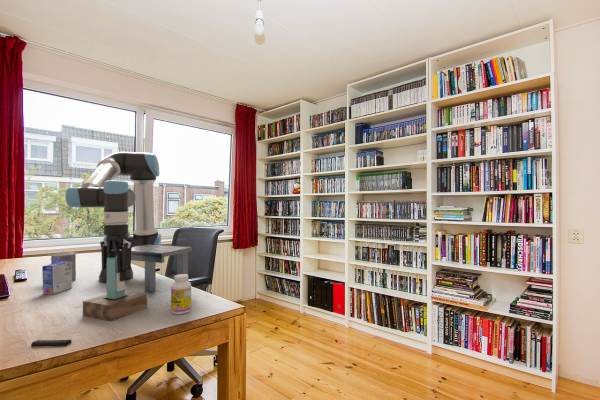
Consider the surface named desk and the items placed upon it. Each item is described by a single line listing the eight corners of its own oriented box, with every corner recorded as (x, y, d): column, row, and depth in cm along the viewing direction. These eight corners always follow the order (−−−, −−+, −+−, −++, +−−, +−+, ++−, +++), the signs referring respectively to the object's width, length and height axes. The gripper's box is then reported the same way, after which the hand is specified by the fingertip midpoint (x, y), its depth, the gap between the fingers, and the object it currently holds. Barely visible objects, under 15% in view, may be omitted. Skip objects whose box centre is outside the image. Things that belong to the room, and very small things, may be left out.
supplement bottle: (166, 313, 107) (166, 276, 107) (182, 307, 113) (182, 272, 113) (180, 316, 104) (180, 278, 104) (195, 310, 110) (195, 274, 110)
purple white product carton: (56, 279, 155) (56, 250, 155) (79, 278, 158) (78, 249, 158) (47, 284, 146) (47, 253, 146) (71, 282, 149) (71, 252, 149)
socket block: (82, 315, 105) (82, 301, 105) (120, 303, 118) (120, 290, 118) (111, 321, 100) (111, 305, 100) (147, 307, 113) (147, 293, 113)
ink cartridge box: (61, 287, 140) (61, 256, 140) (72, 288, 139) (72, 256, 140) (41, 294, 130) (41, 260, 130) (53, 294, 130) (53, 260, 130)
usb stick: (72, 343, 85) (73, 337, 85) (66, 348, 82) (66, 342, 82) (37, 344, 85) (37, 338, 85) (29, 348, 82) (29, 342, 82)
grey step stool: (115, 300, 122) (115, 249, 122) (148, 289, 136) (148, 244, 137) (161, 307, 113) (161, 253, 113) (191, 295, 128) (191, 247, 128)
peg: (106, 297, 108) (106, 258, 108) (117, 294, 111) (117, 256, 112) (114, 299, 106) (114, 258, 106) (125, 296, 110) (125, 256, 110)
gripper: (89, 224, 109) (89, 290, 108) (124, 225, 103) (123, 294, 102) (109, 222, 116) (109, 284, 115) (142, 223, 110) (142, 289, 109)
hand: (116, 289), depth 109 cm, fingers closed on peg, 4 cm apart
